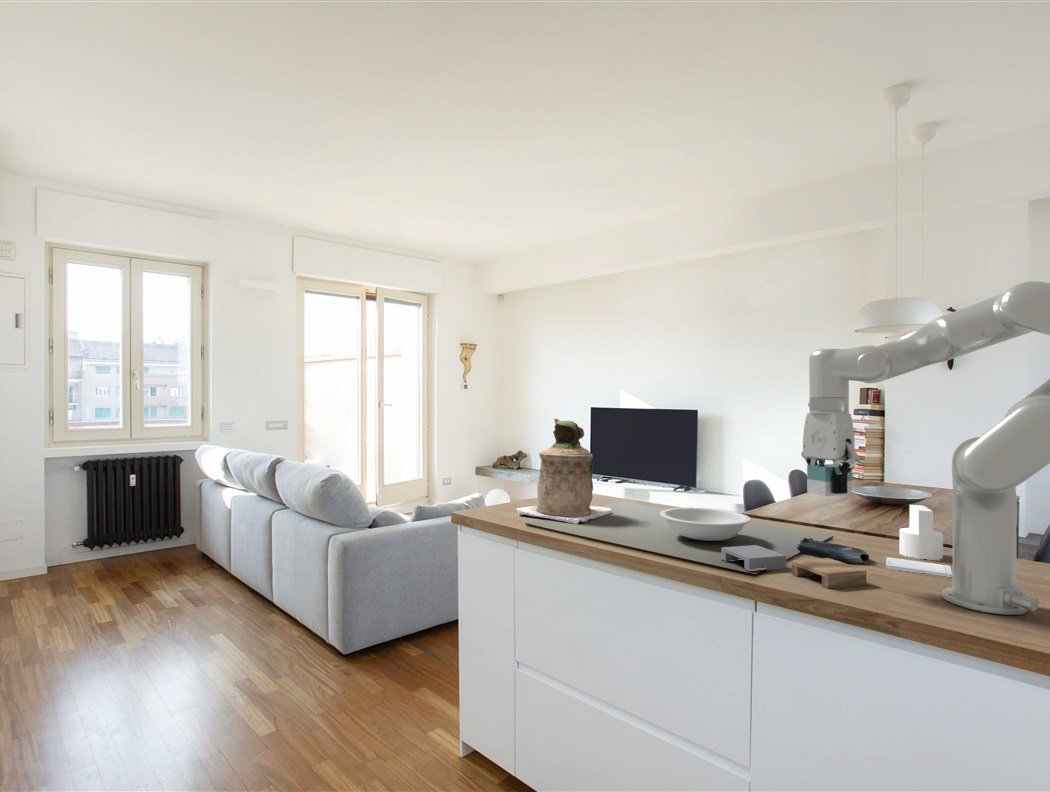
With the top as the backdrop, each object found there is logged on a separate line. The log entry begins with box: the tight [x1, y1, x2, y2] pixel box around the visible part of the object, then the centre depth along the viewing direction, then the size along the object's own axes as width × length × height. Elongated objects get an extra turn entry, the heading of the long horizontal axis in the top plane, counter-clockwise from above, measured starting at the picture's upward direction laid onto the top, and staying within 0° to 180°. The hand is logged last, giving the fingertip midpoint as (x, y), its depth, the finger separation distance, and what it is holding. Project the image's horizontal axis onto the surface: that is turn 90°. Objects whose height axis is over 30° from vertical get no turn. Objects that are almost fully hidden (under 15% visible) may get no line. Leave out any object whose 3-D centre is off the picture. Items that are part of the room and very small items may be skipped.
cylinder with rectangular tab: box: [898, 504, 944, 559], centre depth 145 cm, size 9×9×12 cm
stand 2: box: [791, 557, 867, 589], centre depth 124 cm, size 10×10×3 cm
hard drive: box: [885, 556, 953, 578], centre depth 133 cm, size 2×8×12 cm
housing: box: [806, 463, 853, 497], centre depth 124 cm, size 7×5×7 cm
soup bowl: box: [659, 506, 752, 542], centre depth 160 cm, size 24×24×7 cm
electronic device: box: [796, 537, 870, 565], centre depth 143 cm, size 9×6×15 cm
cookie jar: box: [516, 417, 613, 525], centre depth 193 cm, size 25×25×32 cm
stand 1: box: [720, 544, 787, 571], centre depth 135 cm, size 10×10×3 cm
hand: (829, 490), depth 124 cm, fingers closed on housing, 5 cm apart
